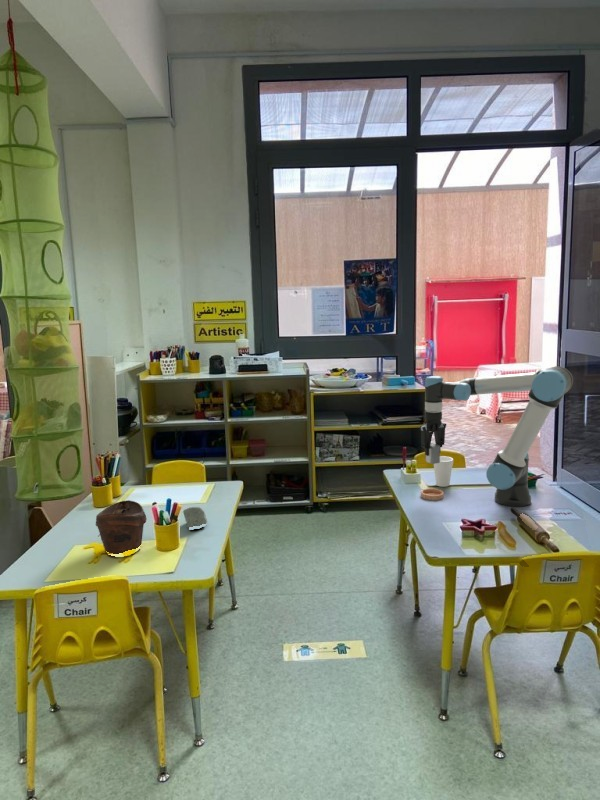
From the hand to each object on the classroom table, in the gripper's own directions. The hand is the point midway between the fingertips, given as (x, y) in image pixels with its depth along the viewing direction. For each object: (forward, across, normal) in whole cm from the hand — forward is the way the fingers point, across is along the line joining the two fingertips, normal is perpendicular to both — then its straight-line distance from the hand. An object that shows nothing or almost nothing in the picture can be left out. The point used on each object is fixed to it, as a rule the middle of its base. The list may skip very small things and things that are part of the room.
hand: (432, 461), depth 253 cm
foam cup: (+17, -15, -10) cm, 25 cm away
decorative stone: (+17, +105, -23) cm, 108 cm away
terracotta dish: (+17, 0, 0) cm, 17 cm away
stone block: (0, 0, 0) cm, 0 cm away
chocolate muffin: (+17, +135, -15) cm, 137 cm away
